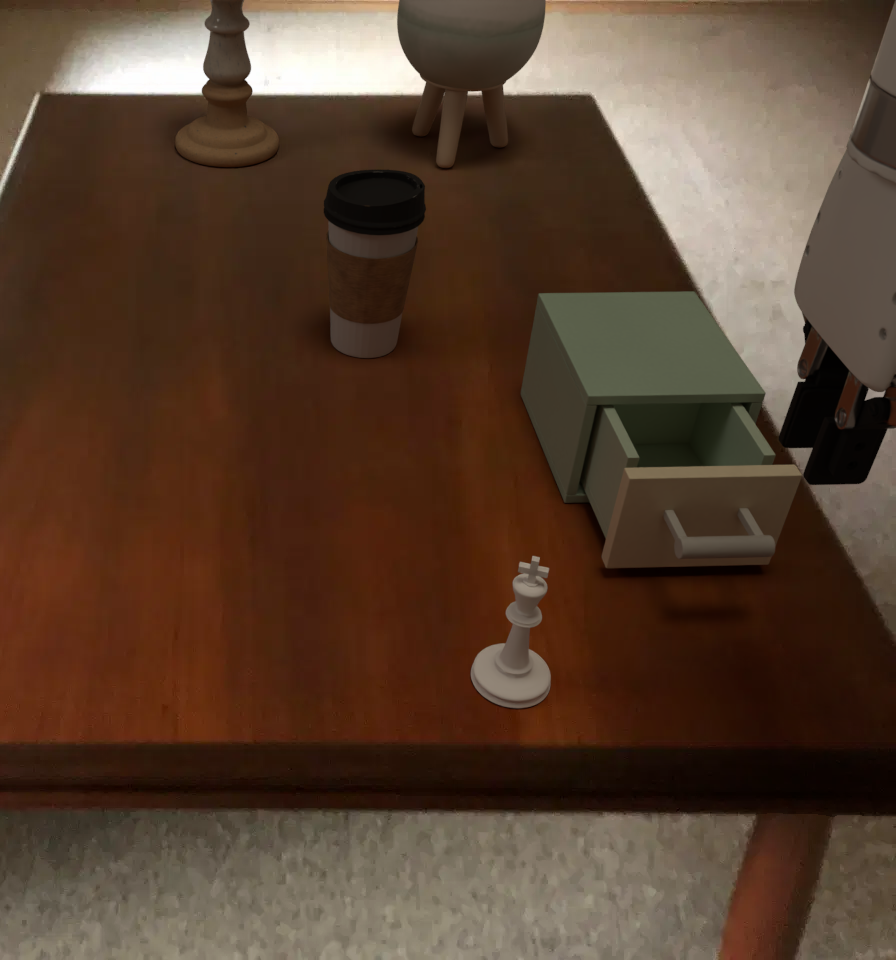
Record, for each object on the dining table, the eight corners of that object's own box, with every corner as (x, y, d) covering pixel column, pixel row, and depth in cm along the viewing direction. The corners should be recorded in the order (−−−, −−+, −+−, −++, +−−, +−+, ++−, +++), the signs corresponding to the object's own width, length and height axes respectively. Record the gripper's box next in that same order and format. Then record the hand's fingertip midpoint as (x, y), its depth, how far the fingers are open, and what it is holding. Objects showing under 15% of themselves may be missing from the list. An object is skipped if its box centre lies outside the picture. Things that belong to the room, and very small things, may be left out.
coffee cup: (408, 370, 102) (426, 208, 92) (311, 361, 103) (319, 200, 93) (413, 321, 108) (430, 166, 99) (321, 313, 109) (330, 158, 100)
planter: (542, 142, 142) (576, -56, 129) (489, 188, 132) (520, -22, 118) (422, 114, 149) (442, -77, 135) (362, 156, 138) (377, -46, 125)
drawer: (793, 607, 78) (830, 516, 73) (623, 611, 77) (649, 520, 72) (701, 448, 92) (726, 363, 87) (556, 451, 91) (574, 365, 86)
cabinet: (730, 500, 88) (766, 393, 82) (564, 503, 87) (588, 395, 82) (667, 391, 100) (694, 290, 94) (519, 394, 99) (538, 292, 93)
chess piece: (545, 717, 71) (575, 596, 65) (464, 697, 72) (485, 577, 66) (554, 660, 75) (583, 541, 69) (477, 642, 76) (499, 523, 70)
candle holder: (153, 150, 139) (146, -30, 126) (219, 120, 147) (218, -53, 134) (236, 177, 133) (236, -9, 121) (299, 144, 141) (306, -34, 128)
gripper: (1146, 209, 46) (965, 561, 57) (937, 68, 59) (823, 379, 70) (959, 210, 46) (814, 565, 57) (790, 69, 58) (699, 381, 70)
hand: (820, 460), depth 63 cm, fingers closed
